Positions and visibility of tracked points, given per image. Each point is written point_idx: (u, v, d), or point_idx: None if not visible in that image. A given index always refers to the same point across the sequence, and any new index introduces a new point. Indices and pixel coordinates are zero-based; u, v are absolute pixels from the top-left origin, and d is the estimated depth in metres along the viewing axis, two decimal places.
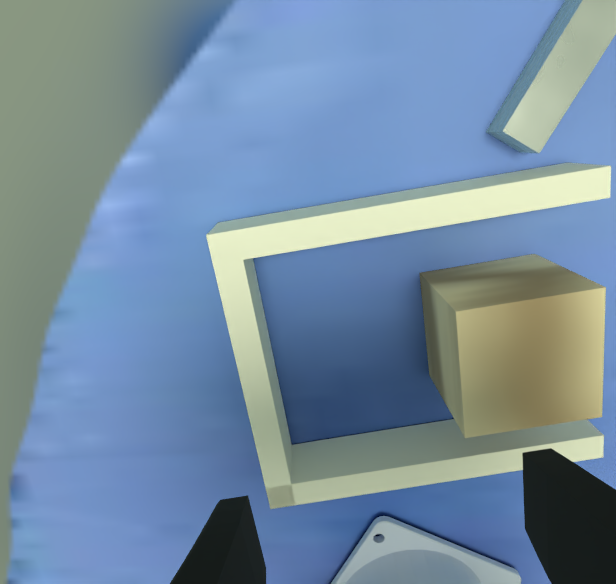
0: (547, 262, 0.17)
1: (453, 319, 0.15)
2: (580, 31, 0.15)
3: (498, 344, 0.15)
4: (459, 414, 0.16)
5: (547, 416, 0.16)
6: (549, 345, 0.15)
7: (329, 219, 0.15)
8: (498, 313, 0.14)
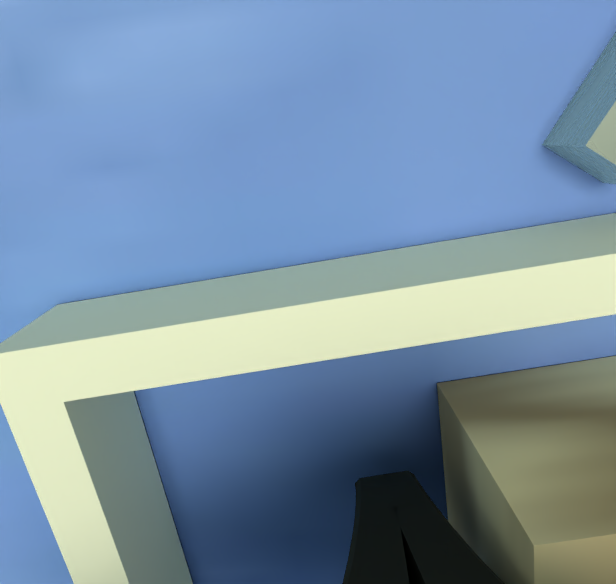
0: None
1: (524, 550, 0.07)
2: None
3: None
4: None
5: None
6: None
7: (233, 325, 0.07)
8: None
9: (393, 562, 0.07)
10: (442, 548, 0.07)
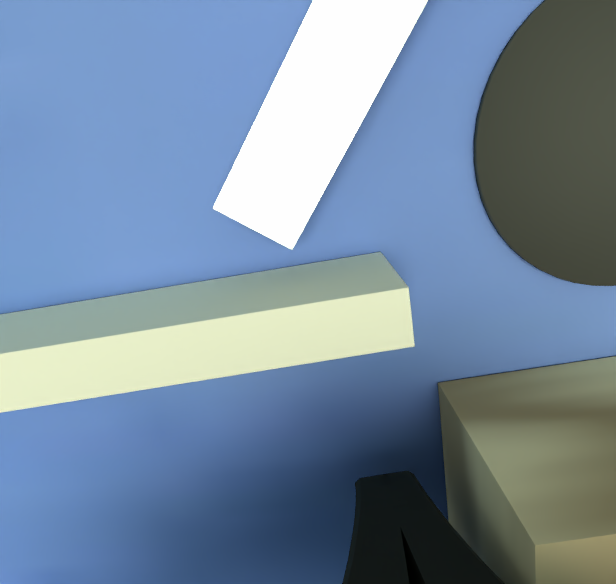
0: None
1: (526, 549, 0.07)
2: (343, 12, 0.07)
3: None
4: None
5: None
6: None
7: None
8: None
9: (393, 562, 0.07)
10: (442, 547, 0.07)
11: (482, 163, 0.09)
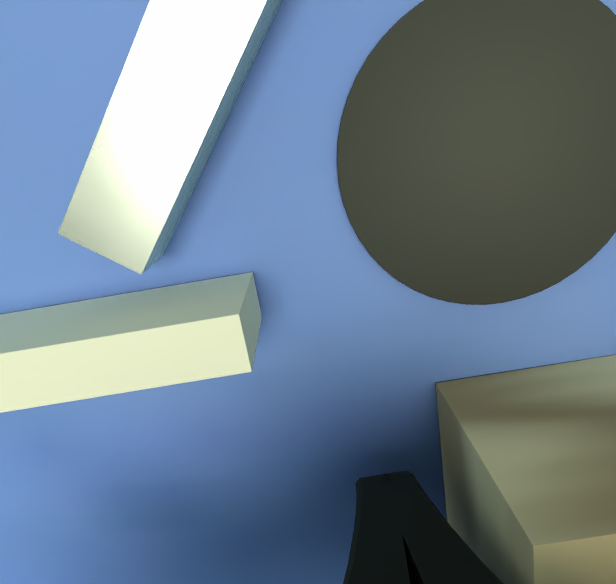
0: None
1: (524, 550, 0.07)
2: (169, 41, 0.07)
3: None
4: None
5: None
6: None
7: None
8: None
9: (394, 562, 0.07)
10: (440, 547, 0.07)
11: (345, 185, 0.09)
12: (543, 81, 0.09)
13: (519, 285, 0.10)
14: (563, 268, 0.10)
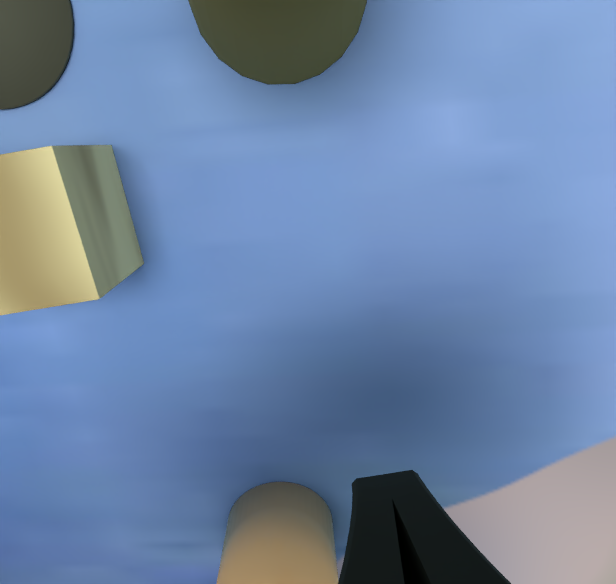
0: (91, 145, 0.16)
1: None
2: None
3: None
4: None
5: (39, 298, 0.14)
6: (12, 214, 0.14)
7: None
8: None
9: (389, 563, 0.07)
10: (447, 546, 0.07)
11: None
12: None
13: (18, 96, 0.17)
14: (41, 85, 0.16)
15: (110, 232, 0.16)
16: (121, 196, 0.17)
